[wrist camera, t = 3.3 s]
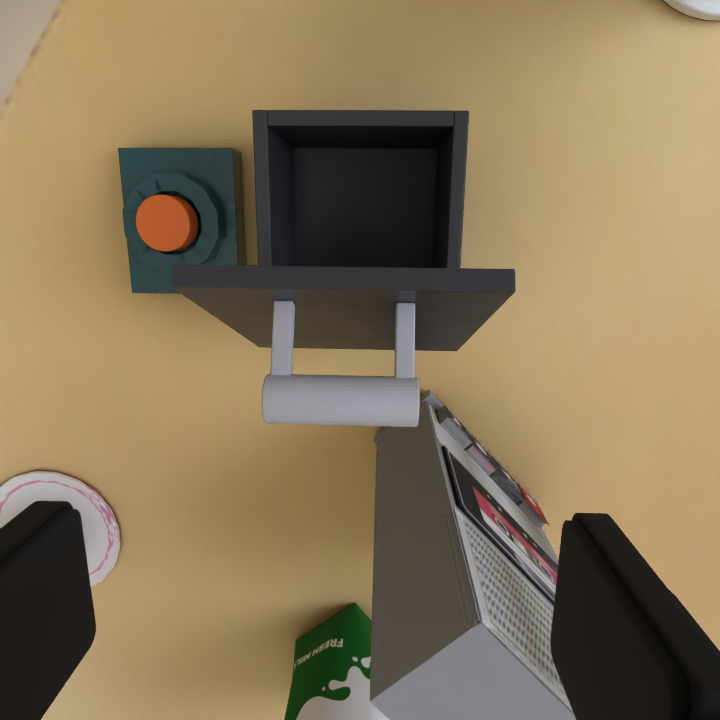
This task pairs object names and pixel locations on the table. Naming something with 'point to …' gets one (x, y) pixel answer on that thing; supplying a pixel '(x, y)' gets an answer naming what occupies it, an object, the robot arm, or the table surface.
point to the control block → (201, 190)
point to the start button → (167, 223)
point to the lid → (346, 328)
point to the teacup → (94, 511)
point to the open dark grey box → (360, 187)
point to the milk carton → (334, 671)
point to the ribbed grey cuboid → (458, 582)
